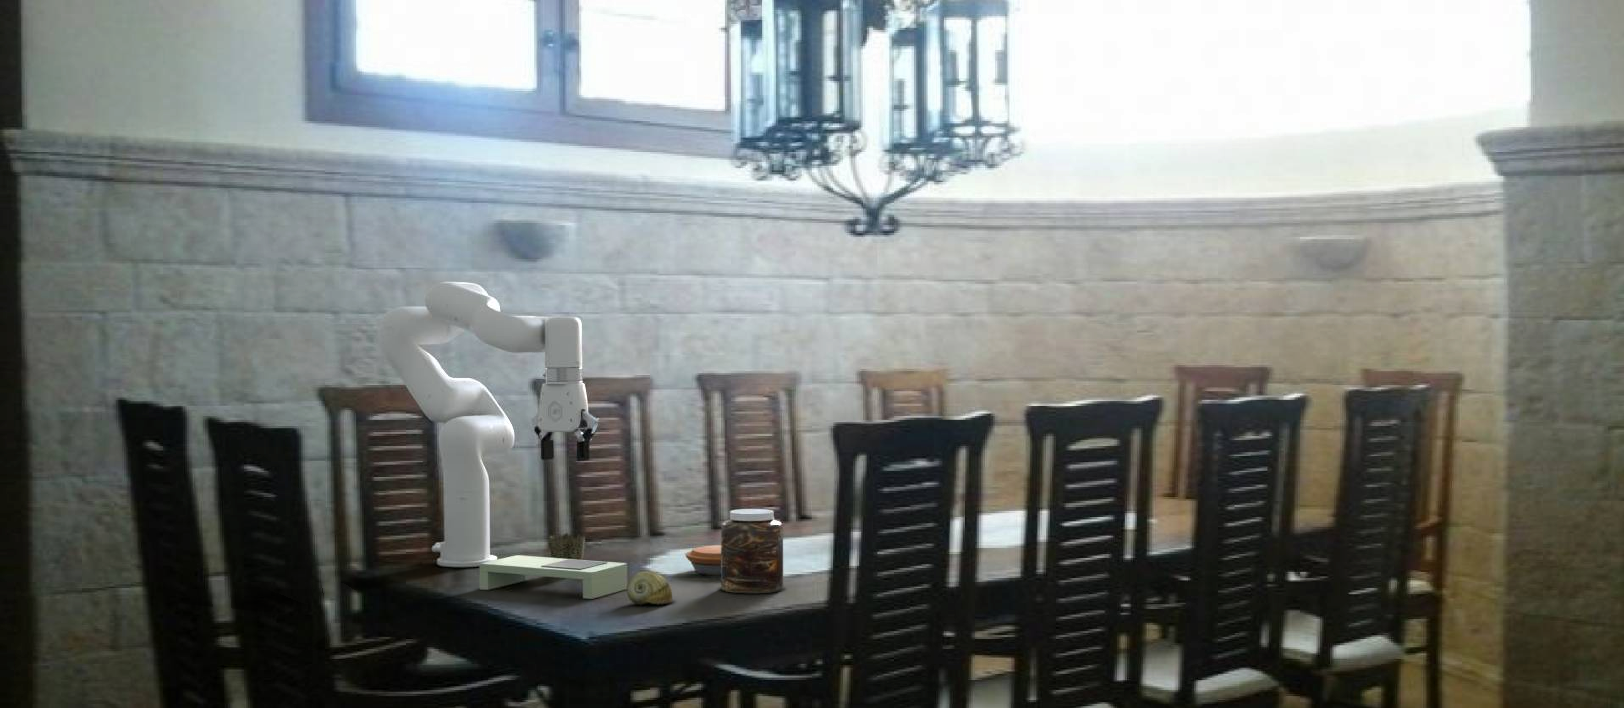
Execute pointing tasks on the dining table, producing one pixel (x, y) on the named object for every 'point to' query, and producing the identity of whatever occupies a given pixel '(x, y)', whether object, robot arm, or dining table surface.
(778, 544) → the jar
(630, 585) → the seashell
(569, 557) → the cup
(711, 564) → the pie
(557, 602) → the dining table surface
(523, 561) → the shelf
